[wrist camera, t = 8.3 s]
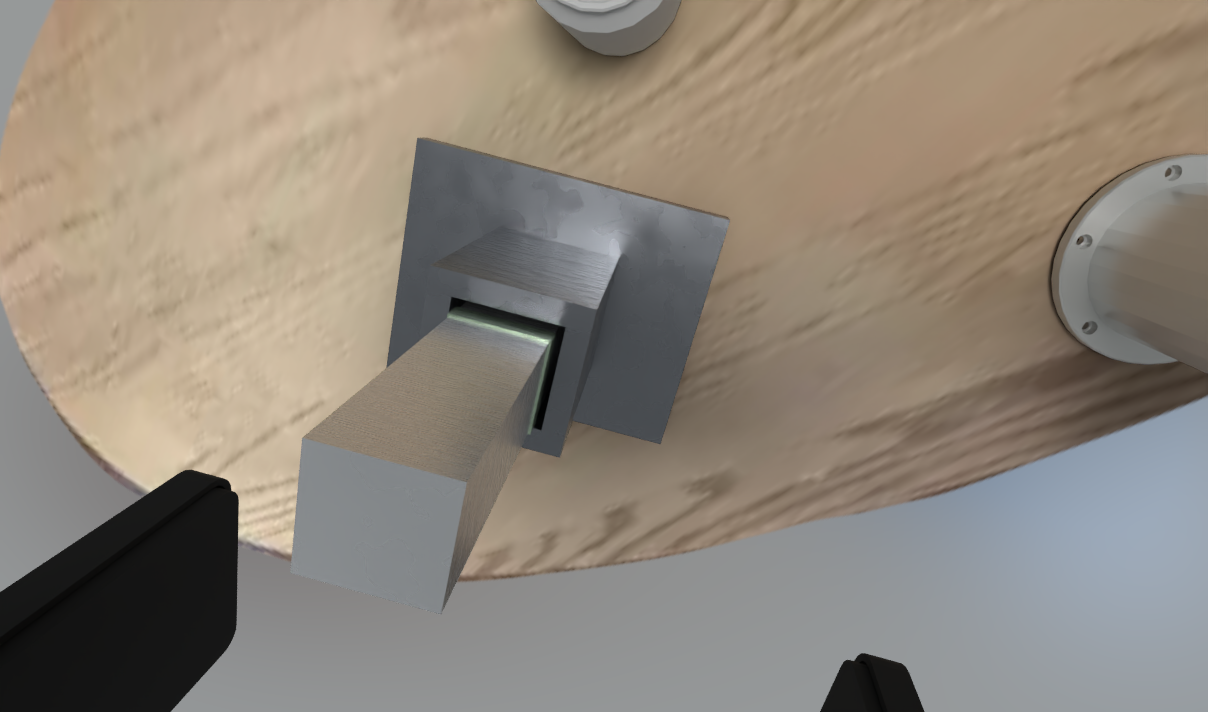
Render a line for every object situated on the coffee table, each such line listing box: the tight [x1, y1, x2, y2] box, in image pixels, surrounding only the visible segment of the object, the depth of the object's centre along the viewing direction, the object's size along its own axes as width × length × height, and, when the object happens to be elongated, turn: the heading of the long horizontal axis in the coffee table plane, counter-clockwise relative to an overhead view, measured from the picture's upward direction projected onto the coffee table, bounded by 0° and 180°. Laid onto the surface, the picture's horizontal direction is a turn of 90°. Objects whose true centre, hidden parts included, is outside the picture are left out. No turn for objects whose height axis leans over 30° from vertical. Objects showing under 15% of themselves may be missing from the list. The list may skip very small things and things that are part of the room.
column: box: [291, 301, 566, 614], centre depth 27 cm, size 5×5×20 cm
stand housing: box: [387, 138, 730, 457], centre depth 37 cm, size 20×16×14 cm
